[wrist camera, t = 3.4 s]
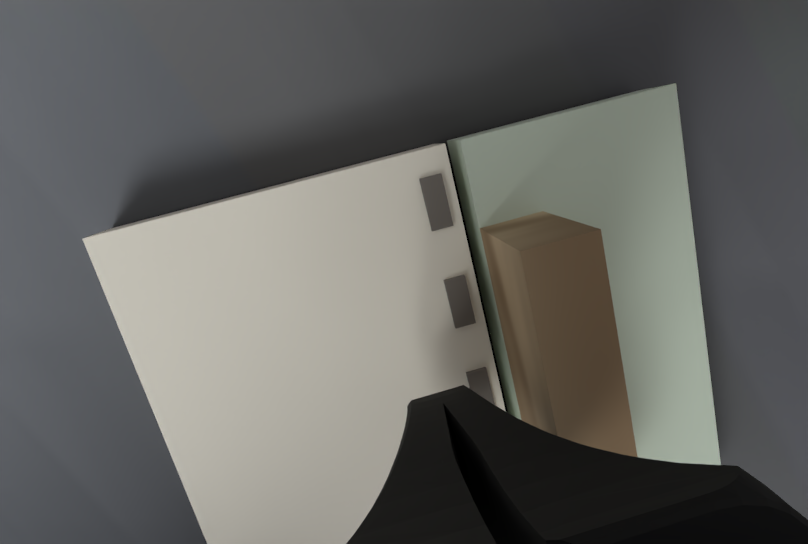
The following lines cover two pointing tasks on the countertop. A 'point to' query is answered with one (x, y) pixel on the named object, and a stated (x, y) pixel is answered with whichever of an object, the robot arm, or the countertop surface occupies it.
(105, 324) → the countertop surface
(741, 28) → the countertop surface
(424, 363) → the block
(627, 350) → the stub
